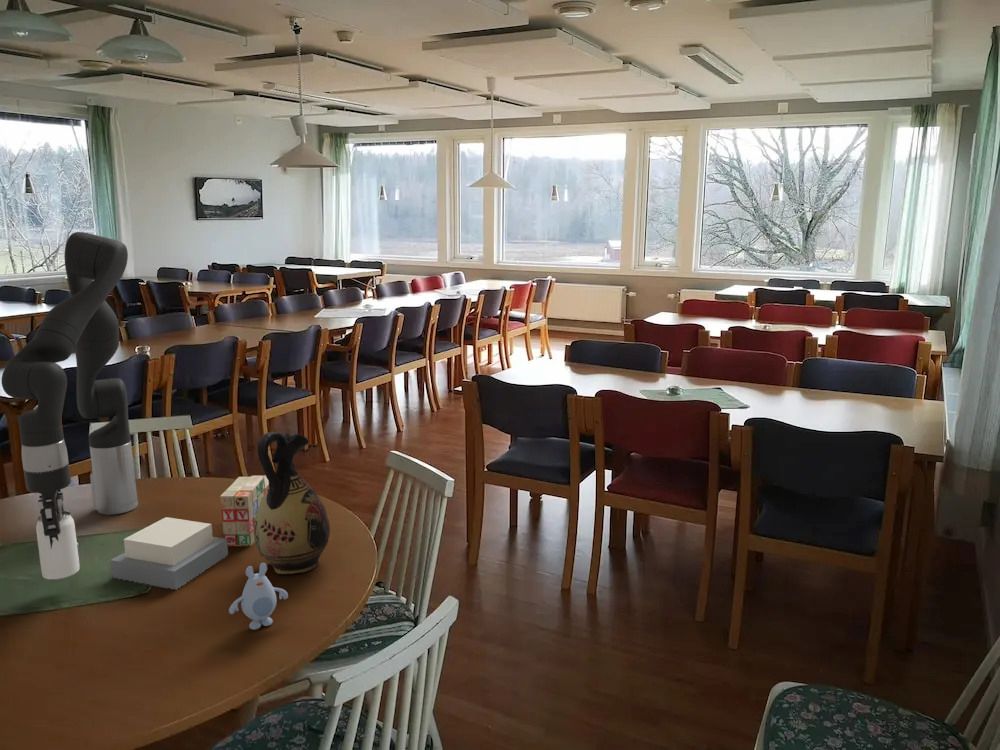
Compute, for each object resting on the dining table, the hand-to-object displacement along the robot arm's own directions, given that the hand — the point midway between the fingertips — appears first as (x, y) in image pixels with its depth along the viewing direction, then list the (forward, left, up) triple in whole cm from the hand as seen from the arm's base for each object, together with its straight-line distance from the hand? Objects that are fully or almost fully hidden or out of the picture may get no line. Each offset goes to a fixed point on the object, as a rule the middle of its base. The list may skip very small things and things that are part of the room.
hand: (57, 545), depth 151 cm
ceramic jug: (+38, +23, -10) cm, 45 cm away
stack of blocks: (+17, +38, -10) cm, 43 cm away
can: (+1, -1, -6) cm, 6 cm away
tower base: (+14, +15, -10) cm, 22 cm away
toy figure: (+46, +1, -10) cm, 47 cm away
